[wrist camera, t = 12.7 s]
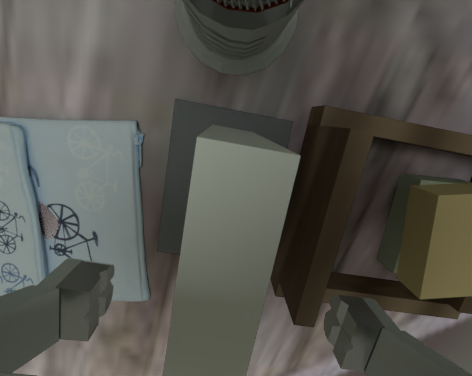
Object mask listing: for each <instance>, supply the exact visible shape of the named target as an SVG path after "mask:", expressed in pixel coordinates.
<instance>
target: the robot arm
mask: <svg viewBox="0 0 472 376" xmlns="http://www.w3.org/2000/svg"><path fill="white" fill-rule="evenodd" d="M114 269H115V267H114V265H113V264H108V263H101V262H95V261H89V260H82V259H74V258H68V259H66V260H64V261H63V262H62V263H61V264H60V265H59V266H58V267H57V268H55V269H54V270H53V271H52V272H51V273H50V274H49V275H48V276H46V277H45V278H44V279H43V280H42V281H41V282H40V283H39V284H38V285H36V286H35V285H30V286H27V287H24V288H22V289H19V290H16V291H13V292H10V293H8V294H5V295H2V296H0V376H35V375H24V374H14V373H12V372H14V371H15V370H17V369H18V368H20V367H21V366H23V365H24V364H26V363H27V362H29V361H30V360H31V359H33V358H34V357H36V356H37V355H39V354H40V353H42V352H43V351H45V350H46V349H48V348H49V347H50V346H52V345H53V344H55V343H56V342H58V341H59V339H64V340H77V341H89V339H90V337H91V336H92V334H93V332H94V331H95V329H96V328H97V326H98V322H99V317H101V316H103V315H104V314H105V313H106V311H107V309H108V307H109V305H110V302H111V299H112V295H113V287H114V286H113V285H112V283H111V282H110V281H111V279H112V278H113V276H114ZM329 304H330V306H331V308H332V309H330V310H329V311H328V312H327V313H326V315H325V319H324V331H325V335H326V337H327V339H328V341H329V342H330V343H331V344H332V345H334V349H333V353H334V355H335V357H336V359H337V361H338V363H339V365H340V368H341V369H348V370H355V371H363V372H365V374H366V375H367V376H472V374H470V373H469V372H467V371H465V370H464V369H463V368H461V367H459V366H458V365H456V364H455V363H453V362H452V361H450V360H449V359H447V358H445V357H444V356H442V355H441V354H439V353H438V352H436V351H435V350H433V349H432V348H430V347H428V346H427V345H425V344H424V343H422V342H421V341H419V340H418V339H416V338H415V337H413V336H411V335H410V334H408V333H407V332H405V331H401V330H400V329H399V328H398V327H397V326H396V324H395V323H394V322H393V321H392V320H391V318H390V317H389V316H388V315H387V314H386V312H385V311H384V310H383V309H382V307H381V306H380V305H379V304H378V303H377V301H376V300H374V299H372V298H366V297H354V296H345V295H337V294H334V295H333V296H332V297H331V299H330V302H329Z"/></svg>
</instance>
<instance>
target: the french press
mask: <svg viewBox="0 0 472 376" xmlns="http://www.w3.org/2000/svg"><path fill="white" fill-rule="evenodd" d="M303 1H304V0H175V13H174V15H175V18H176V21H177V24H178V27H179V30H180V33H181V36H182V39H183V41H184V42H185V44H186V45H187V46H188V47H189V49H190V50H191V51H192V52H193V54H194V55H195V56H196V57H197V59H198V60H199V61H200V62H202V63H204V64H205V65H207V66H209V67H211V68H213V69H214V70H216V71H218V72H220V73H225V74H234V75H247V74H250V73H253V72H256V71H259V70H262V69H265V68H266V67H268V66H269V65H270V64H271V63H272V62H273V61H274V60H275V59H277V58H278V57H279V56H280V55H281V54H282V53H283V52H284V51H285V49H286V47H287V45H288V43H289V41H290V39H291V37H292V36H293V34H294V32H295V30H296V25H297V17H298V10H299V7H300V5H301V4H302V3H303Z"/></svg>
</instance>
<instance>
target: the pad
mask: <svg viewBox="0 0 472 376" xmlns="http://www.w3.org/2000/svg"><path fill="white" fill-rule="evenodd" d="M292 124H293V121H288V120H283V119H278V118H273V117H268V116H262V115H257V114H252V113H247V112H242V111H237V110H232V109H226V108H221V107H216V106H211V105H206V104H201V103H196V102H190V101H185V100H180V99H175V105H174V113H173V122H172V130H171V138H170V147H169V155H168V164H167V172H166V181H165V189H164V198H163V206H162V215H161V223H160V232H159V240H158V248H157V251H159V252H166V253H173V254H180V252H181V245H182V238H183V231H184V224H185V217H186V210H187V203H188V196H189V189H190V182H191V175H192V168H193V161H194V154H195V147H196V140H197V136H199V135H200V134H201V133H203V132H204V131H205V130H206V129H208V128H209V127H210V126H212V125H218V126H223V127H229V128H234V129H239V130H245V131H250V132H254V133H256V134H258V135H260V136H262V137H264V138H266V139H268V140H270V141H272V142H274V143H276V144H278V145H280V146H282V147H284V148H286V149H287V145H288V141H289V137H290V132H291V128H292Z"/></svg>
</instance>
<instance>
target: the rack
mask: <svg viewBox="0 0 472 376" xmlns="http://www.w3.org/2000/svg"><path fill="white" fill-rule="evenodd" d="M374 137H375V138H380V139H385V140H390V141H395V142H400V143H406V144H411V145H416V146H421V147H426V148H431V149H436V150H442V151H447V152H452V153H457V154H462V155H467V156H472V135H468V134H463V133H458V132H453V131H449V130H444V129H439V128H434V127H429V126H424V125H419V124H414V123H409V122H404V121H399V120H394V119H389V118H384V117H379V116H375V115H370V114H365V113H360V112H355V111H350V110H345V109H340V108H335V107H330V106H316V107H312V109H311V113H310V117H309V121H308V125H307V129H306V133H305V137H304V141H303V145H302V149H301V154H300V156H301V157H300V161H299V165H298V169H297V173H296V177H295V181H294V185H293V189H292V193H291V197H290V201H289V205H288V209H287V213H286V217H285V221H284V225H283V229H282V233H281V238H280V242H279V246H278V250H277V254H276V258H275V262H274V266H273V270H272V274H271V278H270V279H271V282H272V285H273V289H274V292H275V296H278V297H285V300H286V303H287V306H288V309H289V312H290V315H291V318H292V321H293V324H294V325H299V326H308V327H314V325H315V322H316V319H317V316H318V312H319V309H320V306H321V303H322V302H325V303H329V302H330V299H331V297H332V296H333V295H334V294H337V295H345V296H354V297H366V298H372V299H374V300H376V301H377V303H378V304H379V305H380V306H381V307H382V309H383V310H388V311H396V312H404V313H412V314H420V315H428V316H436V317H443V318H451V319H458V317H459V314H460V312H461V313H469V314H472V296H467V297H451V298H435V299H419V298H418V297H417V296H415V295H414V294H413V293H412V292H411V291H410V290H409V289H408V288H407V287H406V286H405V285H403V284H402V283H401V282H399V281H391V280H384V279H377V278H370V277H363V276H355V275H348V274H341V273H334V272H331V271H332V268H333V265H334V262H335V258H336V255H337V252H338V249H339V246H340V242H341V239H342V236H343V233H344V230H345V227H346V223H347V220H348V217H349V214H350V211H351V207H352V204H353V201H354V198H355V195H356V192H357V188H358V185H359V182H360V179H361V176H362V172H363V169H364V166H365V163H366V160H367V157H368V153H369V150H370V147H371V144H372V141H373V138H374ZM470 182H472V178H471V181H470Z"/></svg>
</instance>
